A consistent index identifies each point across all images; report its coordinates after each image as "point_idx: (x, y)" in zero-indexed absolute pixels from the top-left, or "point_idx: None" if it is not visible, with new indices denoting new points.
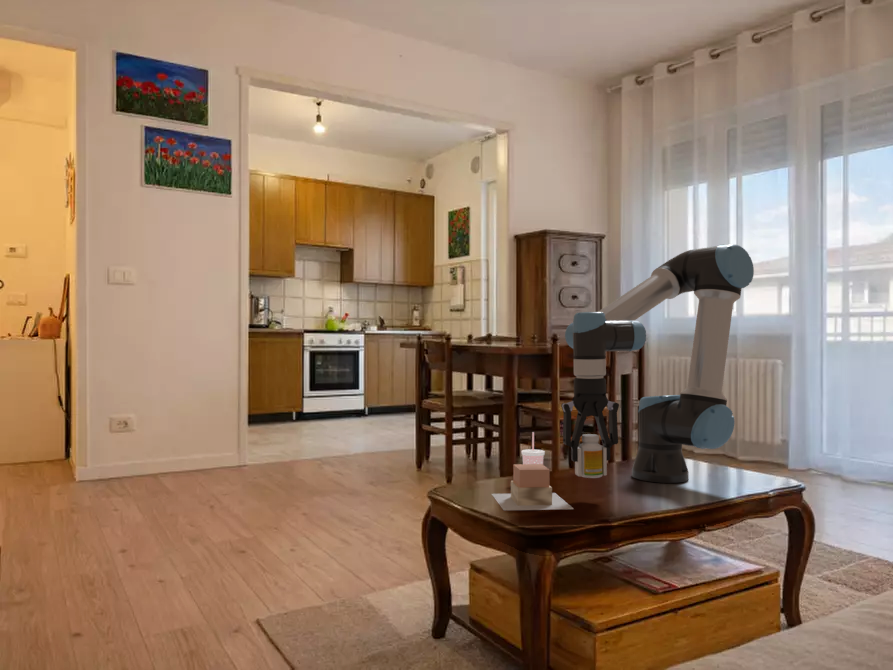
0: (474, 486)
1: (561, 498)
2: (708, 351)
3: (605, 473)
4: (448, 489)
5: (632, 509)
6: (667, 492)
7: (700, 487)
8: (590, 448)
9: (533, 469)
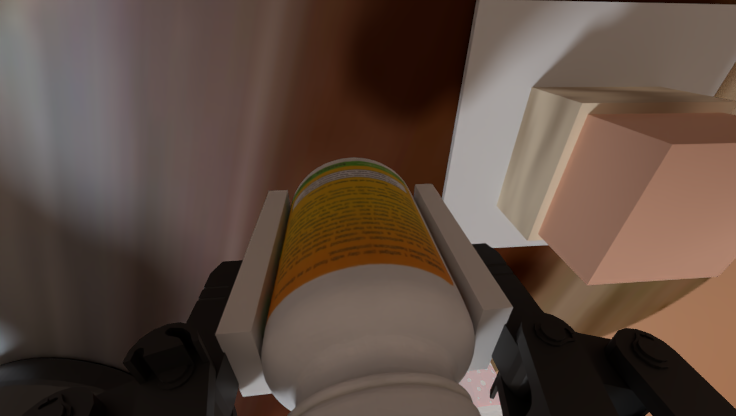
0: (593, 315)
1: (447, 183)
2: None
3: (275, 196)
4: (672, 290)
5: (189, 5)
6: (37, 272)
7: None
8: (414, 287)
9: None
